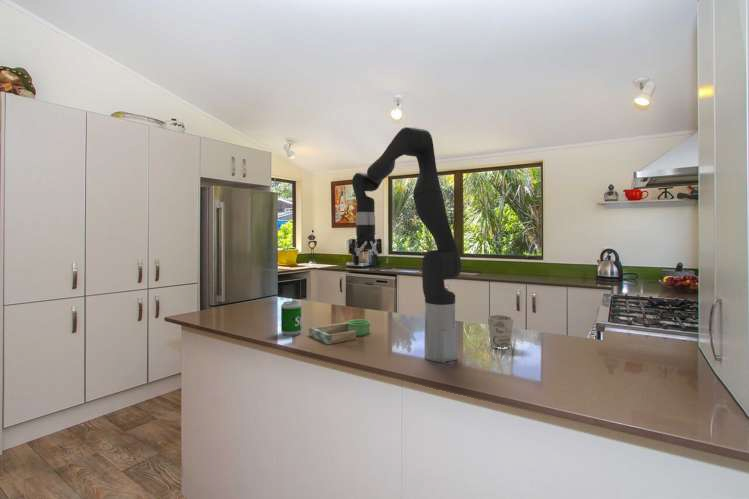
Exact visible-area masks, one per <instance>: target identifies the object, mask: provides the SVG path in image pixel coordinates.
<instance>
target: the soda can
mask: <svg viewBox="0 0 749 499" xmlns="http://www.w3.org/2000/svg"><path fill="white" fill-rule="evenodd" d="M280 312H281V314H280V315H281V316H280V318H281V319H280V321H281V322H280V323H281V324H280V327H281V328H280V330H281V331H280V332H281V333H282V334H283V336H288V337H289V336H290V337H293V336H298V335H299V334H301V332H302V331H303V330H302V304H301V303H300V301H297V300H294V301H293V300H292V301H291V300H290V301H288V300H287V301H284V302H283V303H282V304H281V306H280Z"/></svg>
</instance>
